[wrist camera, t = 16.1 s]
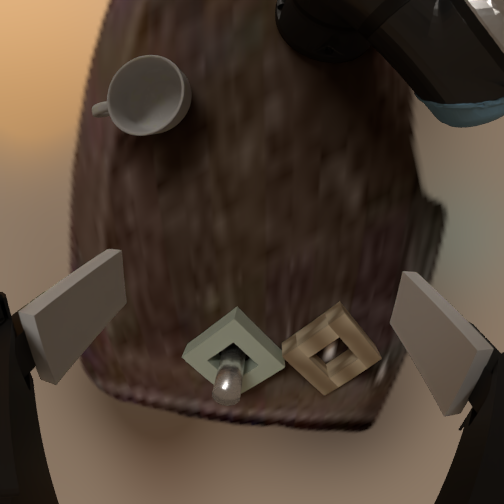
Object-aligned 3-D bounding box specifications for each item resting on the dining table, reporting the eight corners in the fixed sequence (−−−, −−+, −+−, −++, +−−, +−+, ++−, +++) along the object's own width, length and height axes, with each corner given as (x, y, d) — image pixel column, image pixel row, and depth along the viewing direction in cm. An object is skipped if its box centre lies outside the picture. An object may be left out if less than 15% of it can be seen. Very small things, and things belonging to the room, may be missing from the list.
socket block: (237, 306, 49) (234, 318, 46) (284, 353, 52) (285, 367, 48) (187, 344, 52) (181, 357, 48) (233, 384, 54) (231, 399, 51)
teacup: (201, 67, 39) (187, 51, 31) (195, 137, 42) (180, 134, 34) (116, 74, 39) (90, 63, 31) (110, 140, 42) (83, 139, 35)
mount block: (339, 301, 48) (344, 313, 44) (375, 345, 50) (381, 358, 46) (281, 342, 51) (282, 356, 47) (321, 381, 53) (324, 395, 49)
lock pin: (235, 336, 51) (226, 381, 40) (251, 350, 52) (246, 398, 40) (218, 348, 52) (206, 393, 41) (234, 362, 53) (225, 409, 41)
